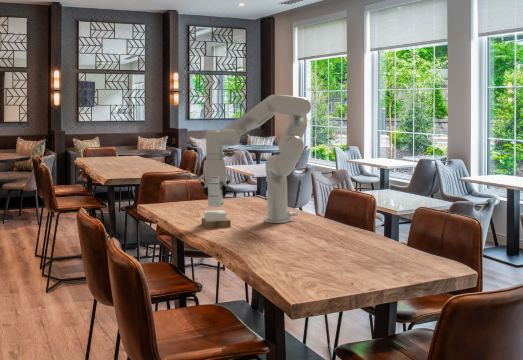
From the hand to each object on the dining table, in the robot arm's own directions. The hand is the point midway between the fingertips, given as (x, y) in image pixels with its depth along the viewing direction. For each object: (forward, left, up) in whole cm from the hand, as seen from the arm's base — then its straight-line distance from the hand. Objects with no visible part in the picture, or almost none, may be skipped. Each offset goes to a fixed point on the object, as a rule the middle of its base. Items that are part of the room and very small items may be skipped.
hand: (215, 195), depth 290 cm
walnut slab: (0, 0, -15) cm, 15 cm away
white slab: (0, 0, -11) cm, 11 cm away
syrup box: (0, 0, -5) cm, 5 cm away
